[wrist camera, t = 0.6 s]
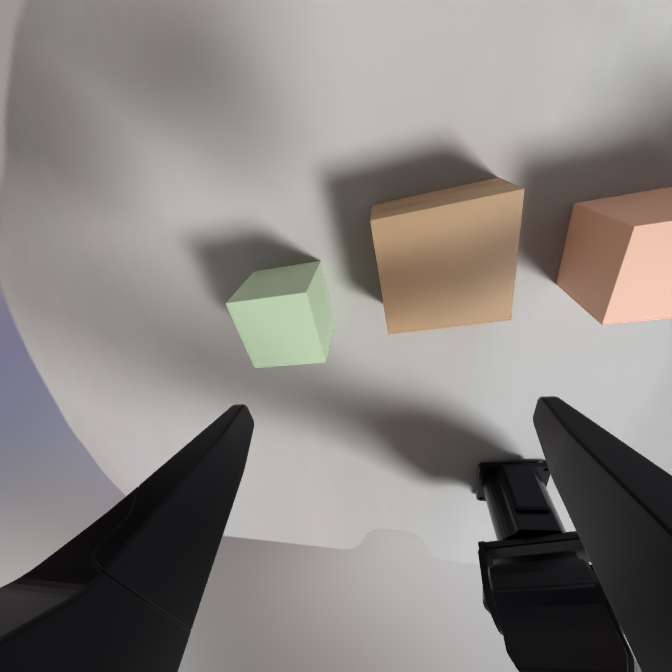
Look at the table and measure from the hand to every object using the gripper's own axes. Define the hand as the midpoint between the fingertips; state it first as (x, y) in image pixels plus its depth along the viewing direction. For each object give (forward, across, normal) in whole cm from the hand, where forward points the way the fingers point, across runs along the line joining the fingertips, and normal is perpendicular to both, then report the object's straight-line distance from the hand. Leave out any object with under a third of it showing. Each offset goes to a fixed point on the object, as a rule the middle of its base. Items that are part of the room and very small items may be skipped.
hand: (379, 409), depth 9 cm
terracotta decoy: (+13, -14, 0) cm, 19 cm away
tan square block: (+13, -4, 0) cm, 14 cm away
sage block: (+13, +6, +2) cm, 15 cm away
